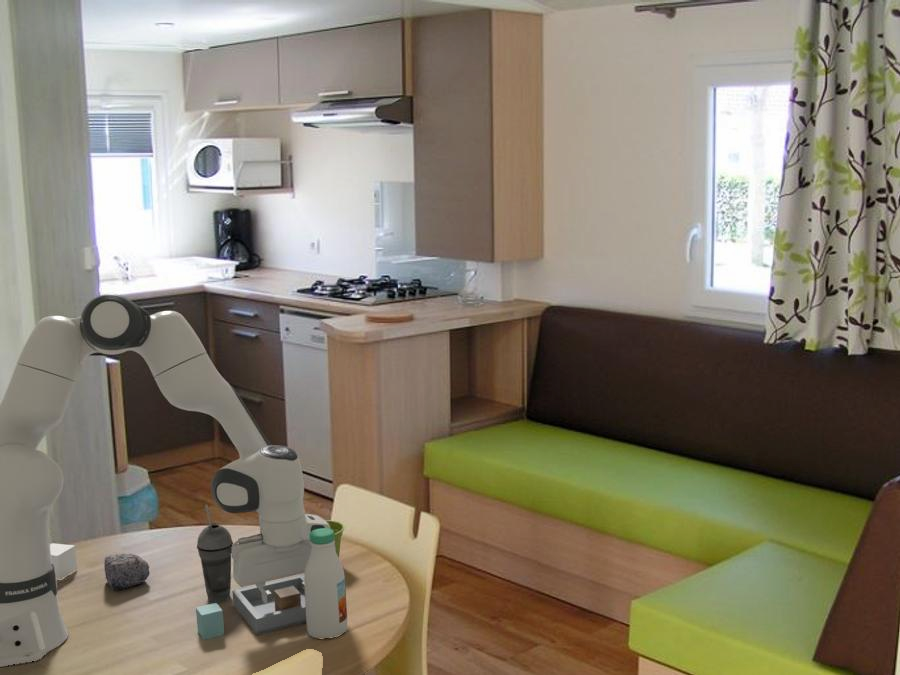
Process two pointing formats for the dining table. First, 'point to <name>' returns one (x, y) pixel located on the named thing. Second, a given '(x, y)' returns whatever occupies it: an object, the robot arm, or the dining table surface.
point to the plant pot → (336, 533)
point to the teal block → (210, 621)
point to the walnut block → (286, 598)
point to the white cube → (63, 559)
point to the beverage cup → (216, 560)
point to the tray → (269, 606)
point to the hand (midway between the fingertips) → (287, 596)
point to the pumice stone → (125, 570)
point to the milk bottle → (324, 587)
